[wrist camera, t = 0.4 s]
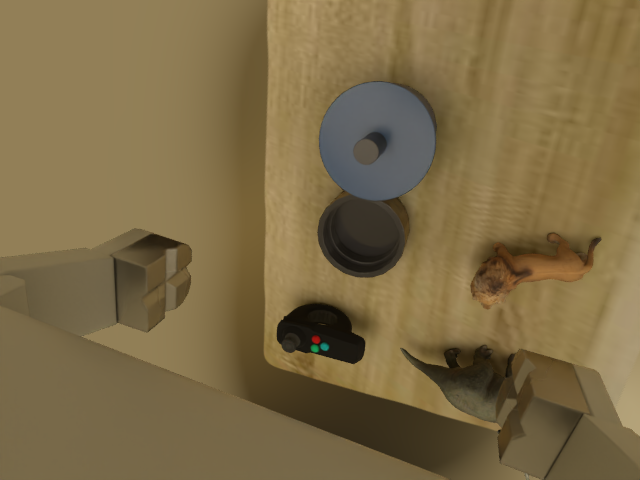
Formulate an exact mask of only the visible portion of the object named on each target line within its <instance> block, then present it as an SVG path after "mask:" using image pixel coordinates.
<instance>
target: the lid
mask: <svg viewBox="0 0 640 480" xmlns="http://www.w3.org/2000/svg"><path fill="white" fill-rule="evenodd" d="M319 147H320V154H321V158H322V161H323V163H324V166H325V168H326V170H327V172H328V173H329V175H330V176H331V178H332V179H333V180H334V181H335V182H336V183H337V184H338V185H339V186H340V187H341V188H342V189H343V190H345V191H347V192H348V193H350V194H352V195H354V196H356V197H359V198H362V199H366V200H374V201H381V200H389V199H393V198H396V197H399V196H401V195H403V194H405V193H407V192H408V191H410V190H411V189H413V188H414V187H415V186H416V185H417V184H418V183H419V182H420V181H421V180H422V179H423V178H424V176H425V175H426V173H427V172H428V170H429V168H430V166H431V163H432V161H433V158H434V154H435V149H436V132H435V127H434V123H433V120H432V117H431V115H430V113H429V111H428V109H427V108H426V106H425V105H424V103H423V102H422V101H421V100H420V99H419V98H418V97H417V96H416V95H415V94H413V93H412V92H411V91H409V90H408V89H406V88H404V87H402V86H400V85H397V84H394V83H390V82H383V81H373V82H367V83H363V84H359V85H356V86H354V87H352V88H350V89H348V90H347V91H345V92H344V93H342V94H341V95H340V96H339V97H338V98H337V99H336V100H335V101H334V102H333V103H332V104H331V106H330V107H329V109H328V110H327V112H326V114H325V116H324V119H323V121H322V124H321V129H320V135H319Z"/></svg>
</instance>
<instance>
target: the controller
mask: <svg viewBox="0 0 640 480" xmlns="http://www.w3.org/2000/svg"><path fill="white" fill-rule="evenodd" d="M321 324H325V325H321ZM277 340H278V342H279V343H280V344H281V345H282V348H283V350H284V351H286V352H288V353H292V352H294V351H295V350H298V351H301V352H304V353H310V352H311V353H315V354H318V355H322V356H326V357H329V358H333V359H337V360H340V361H344V362H348V363H351V364H355V363H357V362H358V361H360V360H361V359H362V357H363V355H364V351H365V340H364V338H362V337H360V336H358V335H356V334H354V333H352V325H351V321H350V320H349V318H348V317H347V316H346V315H345V314H344V313H343V312H342V311H340V310H338V309H336V308H334V307H332V306H328V305H324V304H308V305H304V306H300V307H298V308H296V309H295V310H293V311H292V312H291V313H289V314H288V315H287V316H284V319H283V320H281V321H280V323H279V324H278V327H277Z"/></svg>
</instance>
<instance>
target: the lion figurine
mask: <svg viewBox="0 0 640 480" xmlns="http://www.w3.org/2000/svg"><path fill="white" fill-rule="evenodd" d="M547 240H548V242H550V243H558V244H559V247H558V248H557V254H556V255H555V256H547V255H542V254H523V255H519V256H515V257H514V256H513V255H511V254H510V253H508V251H507V249H506V247H505V246H504V245H503V244H501V243H495V244H494V246H493V249H494V251H495V252H498V253H497V256H495V257H489V258H488V260H487V262H483V263H482V265H481V267H480V268H479V270H478V271H477V272H476V274H475V277H474V279H473V281H472V283H471V285H470V286H471V293H472V294H473V295H472V296H473V299H474V300H478V301H479V302H481V305H482V306H483V308H485V309H490V308H491V307H492V305H493V304H496V303H497V304H500V303H503V302H505V297H507V295H508V294H509V292H510V291H512V290H513V289H515V288H516V286H517V285H518V284H519V283H521V282H533V281H540V280H546V279H556V280H561V281H565V282H573V281H577V280H580V279H582V277H583V274H585V273H587V272H589V271H590V270H591V268H592V266H593V251H594V248H595V246H596V245H597V244H598V243H599V242H600V241H601V238H600V237H599V238H596V239H594V240H593V241H592V242H591V244H590V246H589V250H588V255H586V254H585V253H577V254H575V253H574V252H573V251H572V250H571V249H570V248H569V243H568V242H566V241H565V240H563V239H562V238H561V237H560V236H559V235H557V234H555V233H550V234H549V235H548V236H547Z"/></svg>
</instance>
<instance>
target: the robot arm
mask: <svg viewBox="0 0 640 480" xmlns="http://www.w3.org/2000/svg"><path fill="white" fill-rule="evenodd" d="M191 255H192V250H191V248H190V247H189V245H187V244H184V243H181V242H178V241H175V240H172V239H169V238H166V237H163V236H160V235H157V234H154V233H152V232H148V231H145V230H142V229H136V228H135V229H132V230H130V231H128V232H126V233H124V234H122V235H120V236H118V237H116V238H114V239H111V240H110V241H107V242H105V243H103V244H101V245H99V246H97V247H95V248H93V249H91V250H90V249H87V248H80V249H72V250H63V251H54V252H45V253H37V254H28V255H19V256H11V257H1V258H0V480H450V479H448V478H445V477H443V476H440V475H437V474H435V473H432V472H430V471H427V470H424V469H422V468H419V467H417V466H414V465H412V464H409V463H406V462H404V461H401V460H399V459H396V458H393V457H391V456H388V455H386V454H383V453H380V452H378V451H375V450H373V449H370V448H368V447H365V446H362V445H360V444H357V443H354V442H352V441H349V440H347V439H344V438H342V437H339V436H337V435H334V434H331V433H329V432H326V431H324V430H321V429H318V428H316V427H313V426H310V425H308V424H305V423H303V422H300V421H298V420H295V419H292V418H290V417H287V416H285V415H282V414H280V413H277V412H274V411H272V410H269V409H267V408H264V407H262V406H259V405H256V404H254V403H251V402H249V401H246V400H243V399H241V398H238V397H236V396H233V395H230V394H228V393H225V392H223V391H220V390H217V389H215V388H212V387H210V386H207V385H205V384H202V383H200V382H197V381H194V380H192V379H189V378H186V377H184V376H181V375H179V374H176V373H174V372H171V371H169V370H166V369H163V368H161V367H158V366H156V365H153V364H150V363H148V362H145V361H143V360H140V359H138V358H135V357H132V356H130V355H127V354H125V353H122V352H119V351H117V350H114V349H111V348H109V347H107V346H104V345H101V344H99V343H96V342H94V341H91V340H88V339H86V338H83V337H81V336H84V335H87V334H90V333H93V332H95V331H98V330H101V329H104V328H107V327H110V326H113V325H116V324H117V323H120V324H123V325H126V326H129V327H132V328H135V329H138V330H141V331H144V332H149V331H150V330H151V329H152V328H153V327H155V326H156V325H157V324H158V323H159V322H161V321H162V320H163V319H164V318H165V312H166V311H170V310H173V309H176V308H177V307H178V306H180V305H181V304H182V303H183V301H184V299H185V298H186V296H187V294H188V292H189V288H190V284H191V275H190V273H189V272H188V270H187V268H186V266H187V265H188V264H189V263H190V262H191V261H192V256H191ZM511 366H512V373H513V375H511V376H509V377H507V378H505V379H504V380H503V383H502V385H501V387H500V390H499V393H498V397H497V402H496V422H497V423H498V424H499V425H500V427H501V428H502V429H501V431H500V433H499V435H498V448H499V458H500V463H501V464H504V465H506V466H509V467H511V468H514V469H516V470H519V471H521V472H524V473H526V474H529V475H531V476H534V477H536V478H539V479H542V480H640V437H639V436H638V435H637V434H636V433H635V432H634V431H633V430H631V429H629V428H626V427H623V426H622V424H621V421H620V419H619V417H618V415H617V412H616V410H615V408H614V406H613V403H612V401H611V399H610V397H609V394H608V392H607V390H606V388H605V385H604V383H603V381H602V379H601V376H600V374H599V373H598V372H597V371H596V370H594V369H590V368H586V367H583V366H579V365H575V364H572V363H568V362H565V361H561V360H558V359H554V358H551V357H547V356H544V355H540V354H537V353H533V352H530V351H526V350H523V349H519V350H518V352H517V353H516V354H515V356H514V358H513V360H512V363H511Z"/></svg>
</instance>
